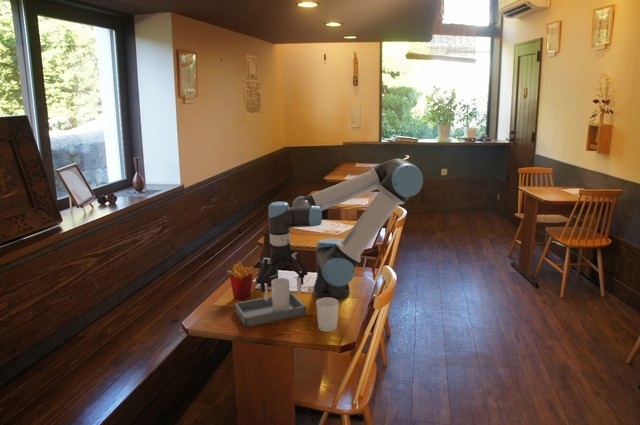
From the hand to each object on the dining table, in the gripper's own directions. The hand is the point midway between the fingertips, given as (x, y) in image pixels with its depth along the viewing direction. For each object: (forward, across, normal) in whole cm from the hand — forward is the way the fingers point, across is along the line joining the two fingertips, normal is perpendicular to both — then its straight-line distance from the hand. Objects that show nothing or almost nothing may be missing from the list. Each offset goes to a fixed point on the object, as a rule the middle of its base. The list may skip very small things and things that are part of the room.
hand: (282, 296), depth 200 cm
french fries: (+6, -12, +19) cm, 24 cm away
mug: (+6, 0, 0) cm, 6 cm away
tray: (+6, -5, 0) cm, 8 cm away
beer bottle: (+6, +4, +28) cm, 29 cm away
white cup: (+6, +10, -20) cm, 23 cm away
